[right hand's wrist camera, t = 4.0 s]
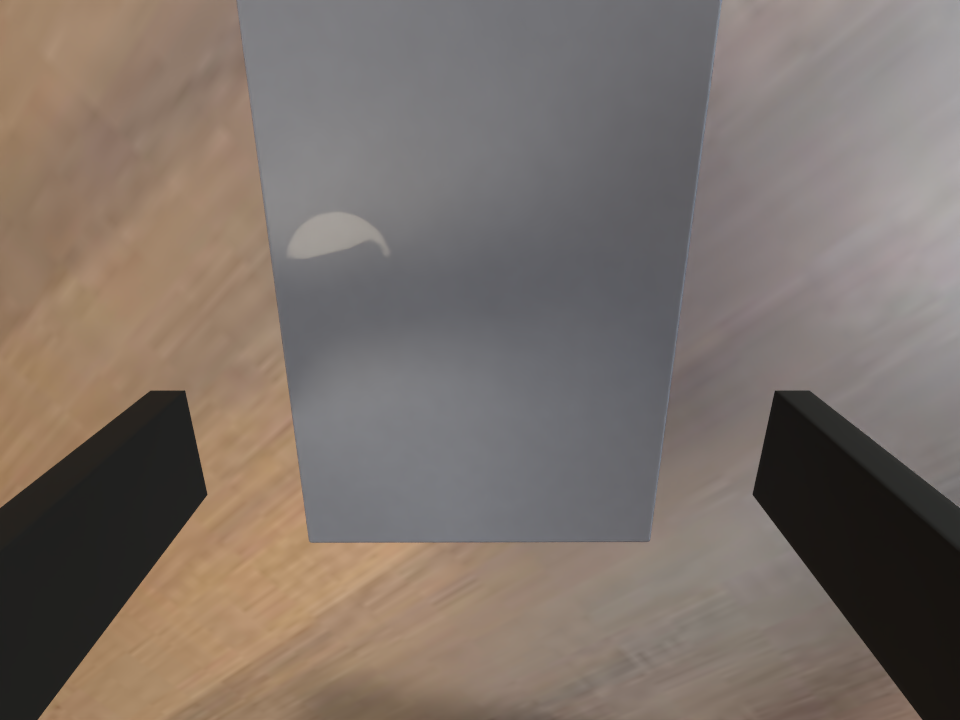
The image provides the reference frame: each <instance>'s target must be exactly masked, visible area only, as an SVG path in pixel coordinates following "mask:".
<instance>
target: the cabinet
mask: <svg viewBox="0 0 960 720" xmlns="http://www.w3.org/2000/svg"><path fill="white" fill-rule="evenodd" d="M721 3H722V0H237V8H238V15H239V23H240V30H241V37H242V45H243V52H244V60H245V67H246V75H247V82H248V90H249V97H250V105H251V112H252V119H253V127H254V134H255V142H256V149H257V157H258V164H259V172H260V179H261V186H262V194H263V201H264V209H265V216H266V224H267V231H268V239H269V246H270V254H271V261H272V268H273V276H274V283H275V291H276V298H277V306H278V313H279V321H280V328H281V336H282V343H283V350H284V358H285V365H286V373H287V380H288V388H289V395H290V403H291V410H292V418H293V425H294V432H295V440H296V447H297V455H298V462H299V470H300V477H301V485H302V492H303V500H304V507H305V514H306V522H307V529H308V537H309V541H310V542H311V543H357V542H649V541H650V537H651V529H652V521H653V514H654V506H655V499H656V491H657V484H658V476H659V469H660V461H661V454H662V446H663V439H664V431H665V424H666V416H667V409H668V401H669V394H670V386H671V379H672V371H673V364H674V356H675V349H676V341H677V334H678V326H679V319H680V311H681V304H682V296H683V289H684V281H685V274H686V266H687V259H688V251H689V244H690V236H691V228H692V221H693V213H694V206H695V198H696V191H697V183H698V176H699V168H700V161H701V153H702V146H703V138H704V131H705V123H706V116H707V108H708V101H709V93H710V86H711V78H712V71H713V63H714V56H715V48H716V41H717V33H718V26H719V18H720V11H721Z"/></svg>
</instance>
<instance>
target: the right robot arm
mask: <svg viewBox="0 0 960 720" xmlns="http://www.w3.org/2000/svg"><path fill="white" fill-rule="evenodd" d="M206 496H207V491H206V486H205V481H204V477H203V472H202V467H201V463H200V458H199V453H198V449H197V444H196V439H195V435H194V430H193V426H192V421H191V416H190V412H189V407H188V402H187V398H186V393H185V391H150V392H148V393H147V394H146V395H144V396H143V397H142V398H141V399H139V400H138V401H137V402H135V403H134V404H133V405H132V406H130V407H129V408H128V409H127V410H125V411H124V412H123V413H121V414H120V415H119V416H118V417H116V418H115V419H114V420H112V421H111V422H110V423H109V424H107V425H106V426H105V427H103V428H102V429H101V430H100V431H98V432H97V433H96V434H95V435H93V436H92V437H91V438H89V439H88V440H87V441H86V442H84V443H83V444H82V445H80V446H79V447H78V448H77V449H75V450H74V451H73V452H71V453H70V454H69V455H68V456H66V457H65V458H64V459H62V460H61V461H60V462H59V463H57V464H56V465H55V466H54V467H52V468H51V469H50V470H48V471H47V472H46V473H45V474H43V475H42V476H41V477H39V478H38V479H37V480H36V481H34V482H33V483H32V484H30V485H29V486H28V487H27V488H25V489H24V490H23V491H22V492H20V493H19V494H18V495H16V496H15V497H14V498H13V499H11V500H10V501H9V502H7V503H6V504H5V505H4V506H2V507H1V508H0V720H38V718H39V717H40V716H41V714H42V713H43V712H44V710H45V709H46V708H47V706H48V705H49V704H50V702H51V701H52V700H53V698H54V697H55V696H56V695H57V693H58V692H59V691H60V689H61V688H62V687H63V685H64V684H65V683H66V681H67V680H68V679H69V677H70V676H71V675H72V673H73V672H74V671H75V669H76V668H77V667H78V665H79V664H80V663H81V661H82V660H83V659H84V657H85V656H86V655H87V653H88V652H89V651H90V649H91V648H92V647H93V646H94V644H95V643H96V642H97V640H98V639H99V638H100V636H101V635H102V634H103V632H104V631H105V630H106V628H107V627H108V626H109V624H110V623H111V622H112V620H113V619H114V618H115V616H116V615H117V614H118V612H119V611H120V610H121V608H122V607H123V606H124V604H125V603H126V602H127V600H128V599H129V598H130V596H131V595H132V594H133V593H134V591H135V590H136V589H137V587H138V586H139V585H140V583H141V582H142V581H143V579H144V578H145V577H146V575H147V574H148V573H149V571H150V570H151V569H152V567H153V566H154V565H155V563H156V562H157V561H158V559H159V558H160V557H161V555H162V554H163V553H164V551H165V550H166V549H167V547H168V546H169V545H170V543H171V542H172V541H173V540H174V538H175V537H176V536H177V534H178V533H179V532H180V530H181V529H182V528H183V526H184V525H185V524H186V522H187V521H188V520H189V518H190V517H191V516H192V514H193V513H194V512H195V510H196V509H197V508H198V506H199V505H200V504H201V502H202V501H203V500H204V498H205V497H206ZM753 496H754V497H755V498H756V500H757V501H758V502H759V504H760V505H761V506H762V508H763V509H764V510H765V512H766V513H767V514H768V516H769V517H770V518H771V520H772V521H773V522H774V524H775V525H776V526H777V528H778V529H779V530H780V532H781V533H782V534H783V536H784V537H785V538H786V540H787V541H788V542H789V543H790V545H791V546H792V547H793V549H794V550H795V551H796V553H797V554H798V555H799V557H800V558H801V559H802V561H803V562H804V563H805V565H806V566H807V567H808V569H809V570H810V571H811V573H812V574H813V575H814V577H815V578H816V579H817V581H818V582H819V583H820V585H821V586H822V587H823V589H824V590H825V591H826V593H827V594H828V595H829V596H830V598H831V599H832V600H833V602H834V603H835V604H836V606H837V607H838V608H839V610H840V611H841V612H842V614H843V615H844V616H845V618H846V619H847V620H848V622H849V623H850V624H851V626H852V627H853V628H854V630H855V631H856V632H857V634H858V635H859V636H860V638H861V639H862V640H863V642H864V643H865V644H866V646H867V647H868V648H869V649H870V651H871V652H872V653H873V655H874V656H875V657H876V659H877V660H878V661H879V663H880V664H881V665H882V667H883V668H884V669H885V671H886V672H887V673H888V675H889V676H890V677H891V679H892V680H893V681H894V683H895V684H896V685H897V687H898V688H899V689H900V691H901V692H902V693H903V695H904V696H905V697H906V698H907V700H908V701H909V702H910V704H911V705H912V706H913V708H914V709H915V710H916V712H917V713H918V714H919V716H920V717H921V718H922V720H960V508H959V507H958V506H956V505H955V504H954V503H953V502H951V501H950V500H949V499H947V498H946V497H945V496H944V495H942V494H941V493H940V492H938V491H937V490H936V489H935V488H933V487H932V486H931V485H930V484H928V483H927V482H926V481H924V480H923V479H922V478H921V477H919V476H918V475H917V474H915V473H914V472H913V471H912V470H910V469H909V468H908V467H906V466H905V465H904V464H903V463H901V462H900V461H899V460H898V459H896V458H895V457H894V456H892V455H891V454H890V453H889V452H887V451H886V450H885V449H883V448H882V447H881V446H880V445H878V444H877V443H876V442H874V441H873V440H872V439H871V438H869V437H868V436H867V435H865V434H864V433H863V432H862V431H860V430H859V429H858V428H857V427H855V426H854V425H853V424H851V423H850V422H849V421H848V420H846V419H845V418H844V417H842V416H841V415H840V414H839V413H837V412H836V411H835V410H833V409H832V408H831V407H830V406H828V405H827V404H826V403H825V402H823V401H822V400H821V399H819V398H818V397H817V396H816V395H814V394H813V393H812V392H810V391H775V393H774V398H773V402H772V407H771V412H770V416H769V421H768V426H767V430H766V435H765V439H764V444H763V449H762V453H761V458H760V463H759V467H758V472H757V477H756V481H755V486H754V491H753Z"/></svg>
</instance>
